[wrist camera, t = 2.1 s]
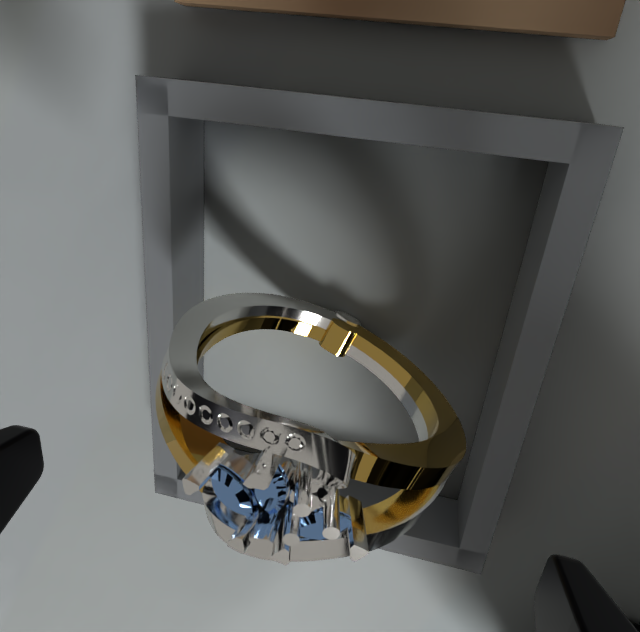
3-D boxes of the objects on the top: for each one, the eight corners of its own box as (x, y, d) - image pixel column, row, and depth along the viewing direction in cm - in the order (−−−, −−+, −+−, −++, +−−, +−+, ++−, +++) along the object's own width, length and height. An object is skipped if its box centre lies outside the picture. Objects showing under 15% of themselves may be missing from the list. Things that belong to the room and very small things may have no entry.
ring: (475, 339, 15) (508, 572, 7) (419, 418, 16) (400, 680, 9) (261, 225, 15) (85, 344, 7) (224, 314, 16) (45, 487, 9)
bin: (596, 123, 12) (623, 127, 10) (476, 524, 17) (481, 574, 15) (176, 78, 14) (135, 75, 12) (182, 455, 19) (154, 492, 17)
